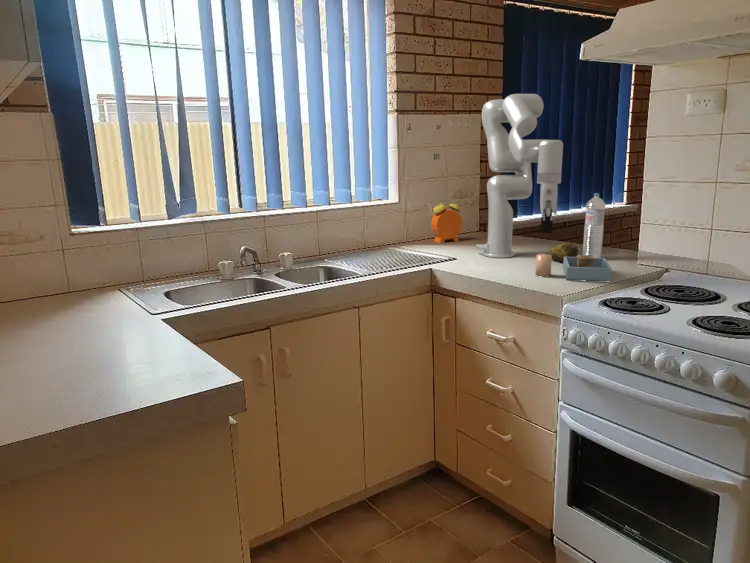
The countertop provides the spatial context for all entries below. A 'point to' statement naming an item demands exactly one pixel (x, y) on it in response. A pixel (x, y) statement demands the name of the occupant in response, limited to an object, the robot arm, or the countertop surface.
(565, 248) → the potato
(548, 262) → the cylinder
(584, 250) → the water bottle
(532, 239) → the countertop surface
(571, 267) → the tote
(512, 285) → the countertop surface
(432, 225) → the alarm clock
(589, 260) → the cube
